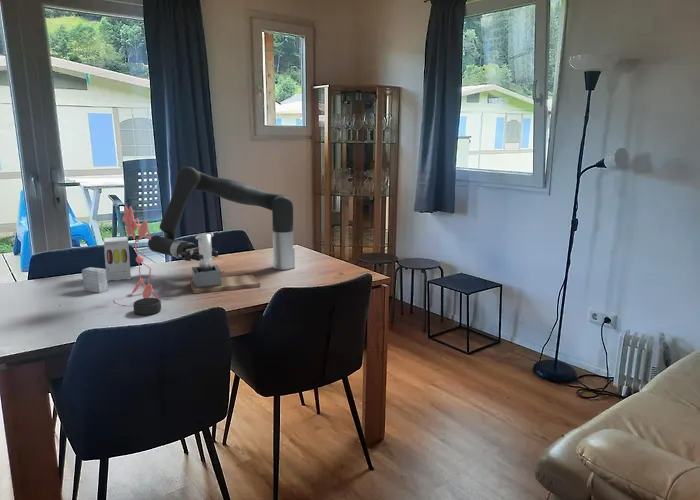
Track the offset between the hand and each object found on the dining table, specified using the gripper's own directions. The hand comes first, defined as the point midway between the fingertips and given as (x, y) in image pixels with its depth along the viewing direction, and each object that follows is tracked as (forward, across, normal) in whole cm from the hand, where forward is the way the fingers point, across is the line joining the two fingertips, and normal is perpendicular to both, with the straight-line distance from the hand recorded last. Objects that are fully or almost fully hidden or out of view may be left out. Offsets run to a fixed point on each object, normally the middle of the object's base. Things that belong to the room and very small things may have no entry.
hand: (208, 256), depth 208 cm
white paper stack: (-31, -30, +13) cm, 46 cm away
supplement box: (-42, -15, +13) cm, 46 cm away
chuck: (-2, 0, +11) cm, 12 cm away
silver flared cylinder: (-2, 0, +12) cm, 12 cm away
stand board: (+2, +6, +13) cm, 14 cm away
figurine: (-10, -26, +13) cm, 31 cm away
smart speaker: (+6, -31, +13) cm, 35 cm away
